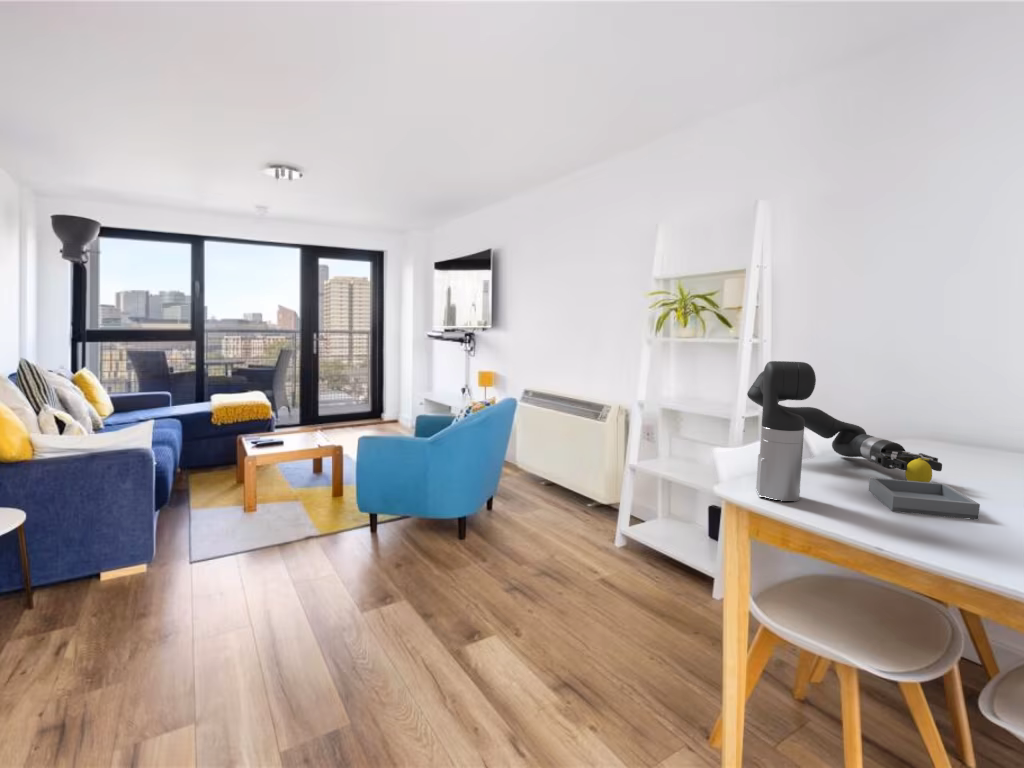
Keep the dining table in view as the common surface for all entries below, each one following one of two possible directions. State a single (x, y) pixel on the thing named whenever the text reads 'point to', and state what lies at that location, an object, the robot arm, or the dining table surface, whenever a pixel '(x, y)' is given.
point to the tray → (923, 498)
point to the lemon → (918, 471)
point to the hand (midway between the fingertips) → (923, 467)
